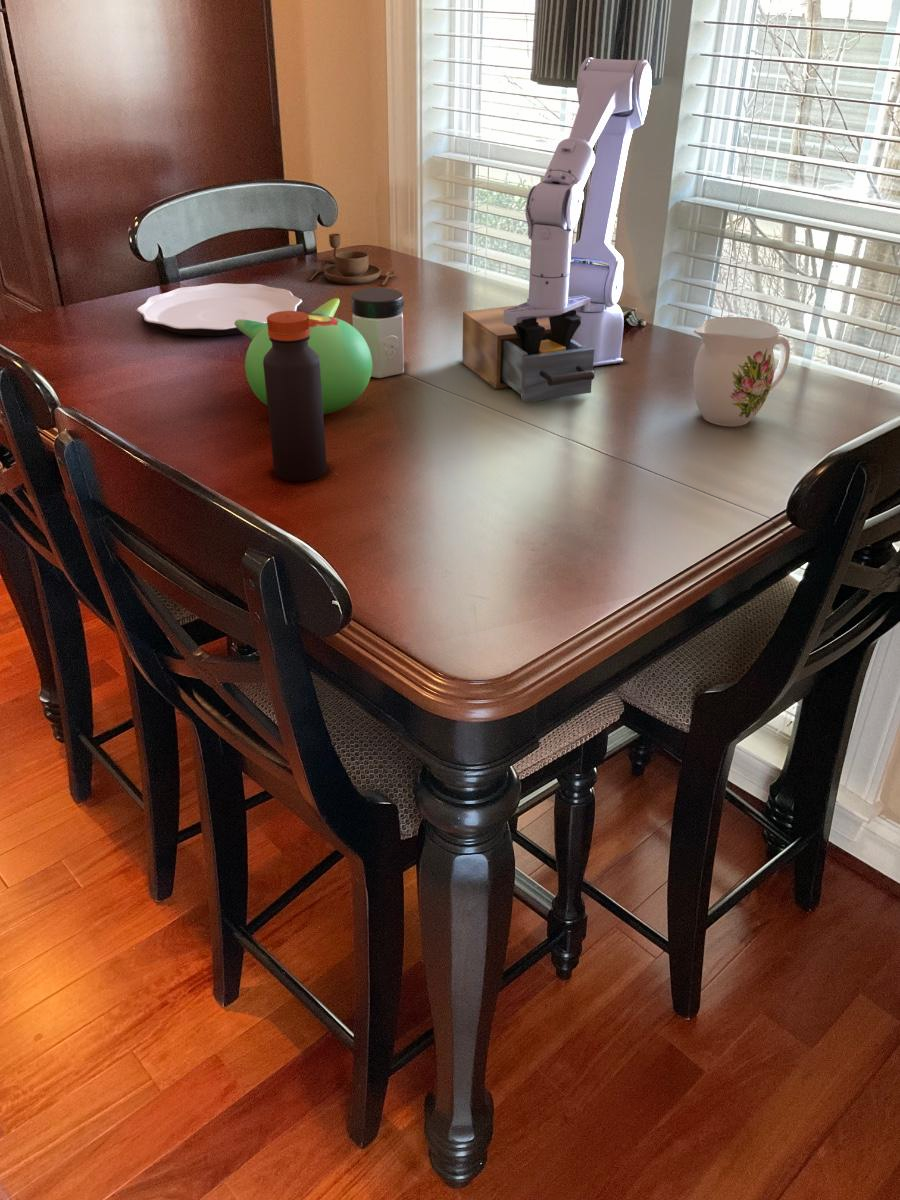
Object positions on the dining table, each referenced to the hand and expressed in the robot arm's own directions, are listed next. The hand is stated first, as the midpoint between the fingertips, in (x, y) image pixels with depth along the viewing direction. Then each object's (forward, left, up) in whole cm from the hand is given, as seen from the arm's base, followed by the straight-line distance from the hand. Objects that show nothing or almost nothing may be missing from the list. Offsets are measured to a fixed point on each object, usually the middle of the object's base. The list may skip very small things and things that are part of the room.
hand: (544, 364), depth 148 cm
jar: (+20, -19, -4) cm, 28 cm away
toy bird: (+35, -6, -4) cm, 36 cm away
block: (0, 0, -1) cm, 1 cm away
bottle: (+42, +14, -4) cm, 45 cm away
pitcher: (-21, +19, -4) cm, 29 cm away
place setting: (+5, -78, -4) cm, 78 cm away
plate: (+38, -57, -4) cm, 69 cm away
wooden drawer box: (0, -11, -4) cm, 11 cm away
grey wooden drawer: (0, +1, -3) cm, 4 cm away
